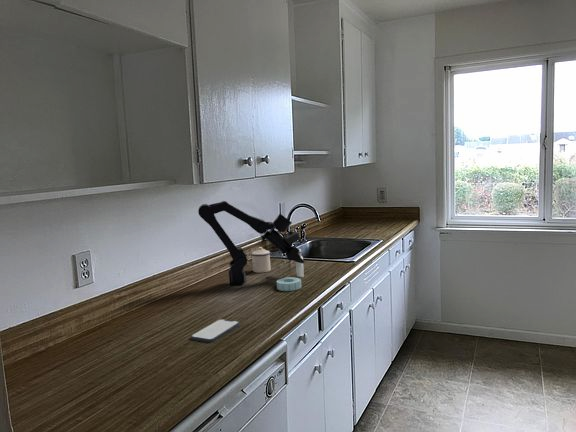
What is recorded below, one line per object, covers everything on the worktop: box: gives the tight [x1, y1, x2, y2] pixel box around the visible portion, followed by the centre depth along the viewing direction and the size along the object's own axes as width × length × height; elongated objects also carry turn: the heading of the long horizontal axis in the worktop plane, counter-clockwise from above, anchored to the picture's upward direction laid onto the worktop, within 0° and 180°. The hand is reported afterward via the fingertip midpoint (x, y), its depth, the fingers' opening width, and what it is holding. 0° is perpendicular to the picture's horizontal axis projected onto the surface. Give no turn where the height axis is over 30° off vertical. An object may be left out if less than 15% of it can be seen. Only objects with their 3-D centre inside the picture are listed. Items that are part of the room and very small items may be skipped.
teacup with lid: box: [246, 246, 271, 274], centre depth 232 cm, size 12×9×12 cm
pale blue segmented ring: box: [276, 276, 302, 292], centre depth 199 cm, size 10×10×3 cm
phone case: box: [190, 318, 241, 343], centre depth 153 cm, size 9×2×16 cm
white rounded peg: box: [295, 248, 305, 278], centre depth 216 cm, size 3×3×12 cm
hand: (302, 261), depth 216 cm, fingers closed on white rounded peg, 3 cm apart
